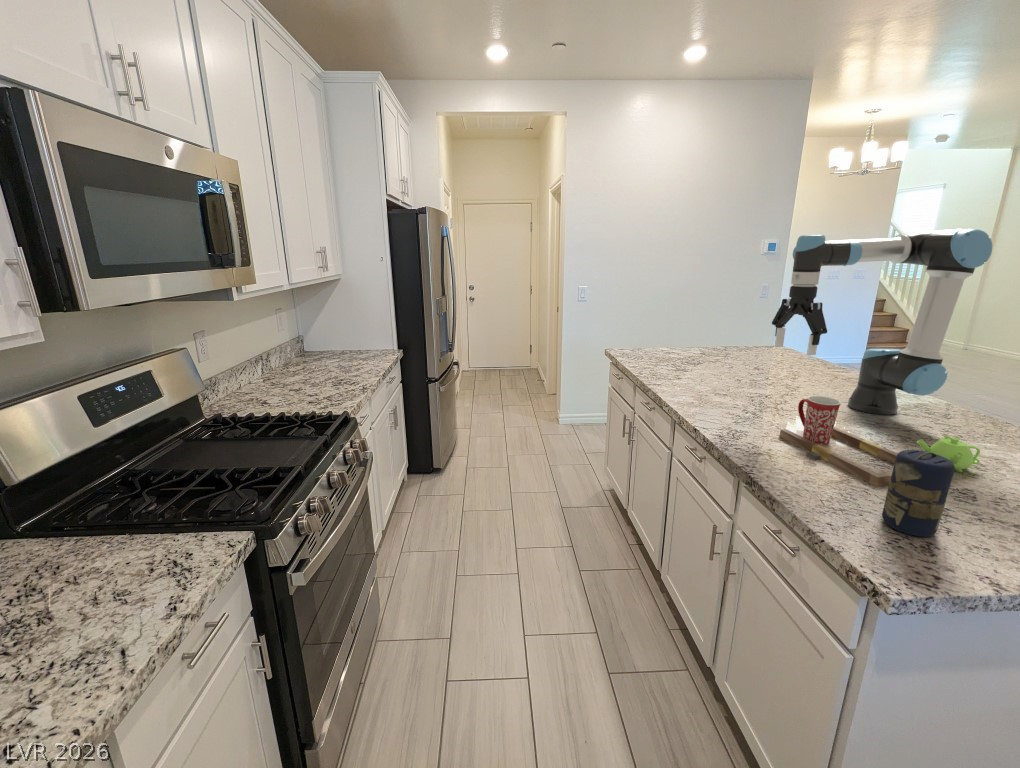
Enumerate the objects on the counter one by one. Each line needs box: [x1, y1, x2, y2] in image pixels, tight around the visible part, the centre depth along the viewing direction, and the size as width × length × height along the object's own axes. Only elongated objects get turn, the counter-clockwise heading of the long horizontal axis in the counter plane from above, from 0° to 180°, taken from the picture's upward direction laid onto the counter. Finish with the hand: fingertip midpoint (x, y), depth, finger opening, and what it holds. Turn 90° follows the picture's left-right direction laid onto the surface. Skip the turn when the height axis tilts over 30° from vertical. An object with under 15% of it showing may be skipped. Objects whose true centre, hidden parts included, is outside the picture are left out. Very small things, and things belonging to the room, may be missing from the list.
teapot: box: [916, 435, 981, 473], centre depth 132 cm, size 11×12×8 cm
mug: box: [797, 395, 842, 445], centre depth 151 cm, size 13×9×14 cm
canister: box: [882, 449, 955, 537], centre depth 102 cm, size 10×10×18 cm
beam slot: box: [779, 426, 899, 487], centre depth 140 cm, size 25×34×2 cm
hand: (794, 350), depth 158 cm, fingers open, 13 cm apart
